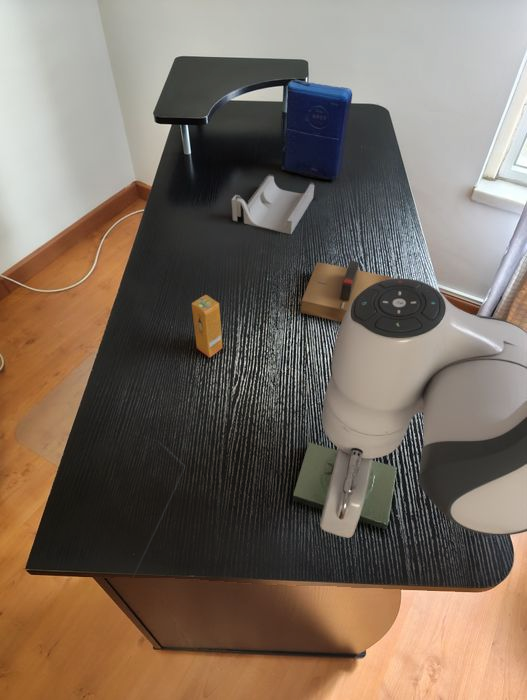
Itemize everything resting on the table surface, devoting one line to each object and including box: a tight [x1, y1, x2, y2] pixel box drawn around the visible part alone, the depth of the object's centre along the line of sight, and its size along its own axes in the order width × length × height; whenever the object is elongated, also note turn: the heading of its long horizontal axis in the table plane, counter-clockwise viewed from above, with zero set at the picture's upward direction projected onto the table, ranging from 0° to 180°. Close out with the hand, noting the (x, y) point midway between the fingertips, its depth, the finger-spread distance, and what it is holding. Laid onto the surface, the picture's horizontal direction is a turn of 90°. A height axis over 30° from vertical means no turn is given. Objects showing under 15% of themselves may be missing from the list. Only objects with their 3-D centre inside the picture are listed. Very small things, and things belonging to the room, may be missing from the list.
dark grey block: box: [340, 260, 360, 301], centre depth 82 cm, size 6×2×4 cm, turn 161°
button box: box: [292, 442, 398, 530], centre depth 62 cm, size 12×8×4 cm, turn 72°
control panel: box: [300, 261, 393, 323], centre depth 85 cm, size 14×11×3 cm
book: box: [281, 79, 353, 181], centre depth 107 cm, size 14×5×20 cm, turn 67°
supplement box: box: [191, 294, 224, 358], centre depth 75 cm, size 3×3×10 cm
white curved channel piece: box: [231, 175, 315, 235], centre depth 103 cm, size 15×13×5 cm
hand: (347, 473), depth 60 cm, fingers closed, pressing on start button
